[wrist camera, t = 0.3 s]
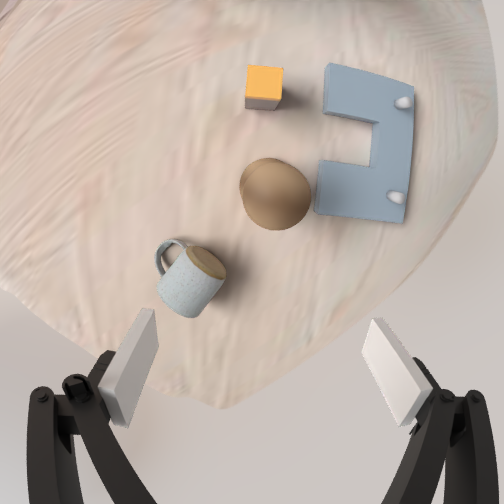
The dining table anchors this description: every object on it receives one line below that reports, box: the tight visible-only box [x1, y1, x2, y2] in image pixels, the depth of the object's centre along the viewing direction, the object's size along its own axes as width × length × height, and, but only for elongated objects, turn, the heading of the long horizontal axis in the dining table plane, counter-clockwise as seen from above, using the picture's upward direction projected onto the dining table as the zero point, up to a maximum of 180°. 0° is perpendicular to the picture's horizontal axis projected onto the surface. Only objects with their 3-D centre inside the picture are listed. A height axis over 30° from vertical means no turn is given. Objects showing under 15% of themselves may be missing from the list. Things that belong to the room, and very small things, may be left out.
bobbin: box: [240, 158, 311, 230], centre depth 34 cm, size 8×8×12 cm
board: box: [314, 63, 414, 224], centre depth 35 cm, size 22×14×6 cm, turn 176°
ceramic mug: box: [155, 239, 226, 318], centre depth 39 cm, size 11×8×8 cm
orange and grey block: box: [245, 65, 283, 111], centre depth 31 cm, size 4×4×8 cm
